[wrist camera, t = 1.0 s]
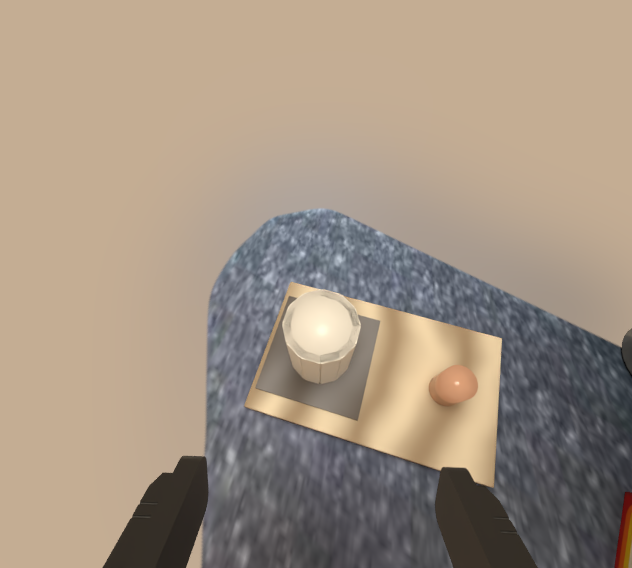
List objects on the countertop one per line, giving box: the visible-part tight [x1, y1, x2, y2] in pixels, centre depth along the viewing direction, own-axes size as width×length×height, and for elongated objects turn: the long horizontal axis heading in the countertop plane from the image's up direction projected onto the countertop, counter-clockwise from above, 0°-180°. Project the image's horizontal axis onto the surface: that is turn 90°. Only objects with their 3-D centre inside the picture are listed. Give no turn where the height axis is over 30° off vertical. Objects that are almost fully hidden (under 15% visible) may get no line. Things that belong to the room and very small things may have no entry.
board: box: [244, 282, 502, 488], centre depth 37 cm, size 25×15×2 cm, turn 73°
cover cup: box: [282, 289, 361, 384], centre depth 33 cm, size 6×6×9 cm
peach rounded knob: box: [429, 365, 478, 406], centre depth 33 cm, size 3×3×4 cm
